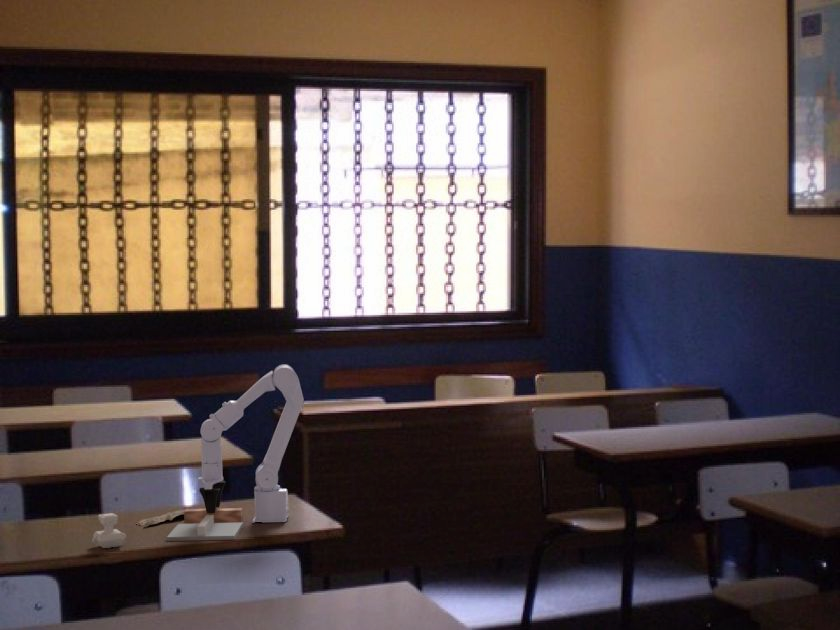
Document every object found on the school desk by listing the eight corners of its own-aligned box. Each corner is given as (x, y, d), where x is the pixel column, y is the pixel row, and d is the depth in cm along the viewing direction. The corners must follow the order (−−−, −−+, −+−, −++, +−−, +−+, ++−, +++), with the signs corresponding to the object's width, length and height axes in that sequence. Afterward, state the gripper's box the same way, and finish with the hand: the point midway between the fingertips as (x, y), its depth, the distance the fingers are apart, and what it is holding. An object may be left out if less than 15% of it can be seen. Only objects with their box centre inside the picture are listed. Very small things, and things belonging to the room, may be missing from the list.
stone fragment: (211, 516, 373) (184, 513, 378) (210, 506, 373) (184, 503, 378) (150, 533, 351) (124, 529, 356) (150, 522, 351) (123, 519, 356)
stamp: (95, 551, 329) (94, 519, 328) (88, 546, 335) (87, 514, 334) (130, 546, 333) (128, 515, 333) (122, 542, 339) (121, 510, 338)
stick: (243, 522, 361) (242, 508, 361) (241, 524, 358) (241, 510, 358) (186, 523, 361) (186, 509, 361) (184, 525, 358) (184, 511, 358)
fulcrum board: (243, 525, 355) (242, 513, 354) (234, 539, 339) (234, 526, 338) (178, 527, 355) (178, 514, 354) (166, 540, 339) (166, 527, 339)
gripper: (202, 458, 366) (203, 505, 367) (192, 466, 351) (194, 515, 352) (226, 457, 366) (228, 504, 367) (218, 466, 351) (219, 515, 352)
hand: (213, 510), depth 359 cm, fingers open, 7 cm apart
